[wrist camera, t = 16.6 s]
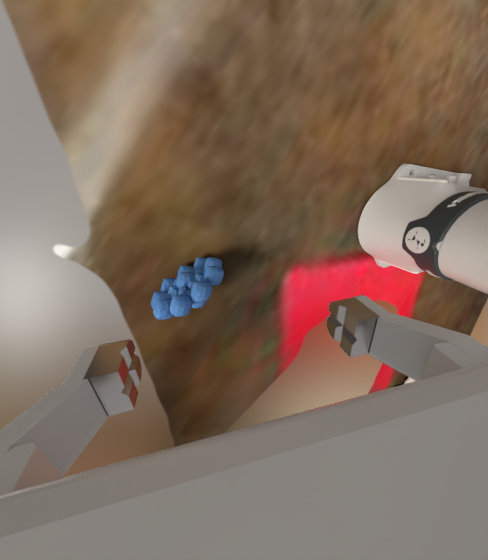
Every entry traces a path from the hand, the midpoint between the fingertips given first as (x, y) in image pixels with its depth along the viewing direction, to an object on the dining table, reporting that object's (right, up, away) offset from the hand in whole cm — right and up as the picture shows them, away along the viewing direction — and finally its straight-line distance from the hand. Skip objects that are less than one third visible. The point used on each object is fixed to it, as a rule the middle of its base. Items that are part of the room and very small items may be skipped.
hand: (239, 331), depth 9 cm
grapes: (-9, +3, +30) cm, 31 cm away
